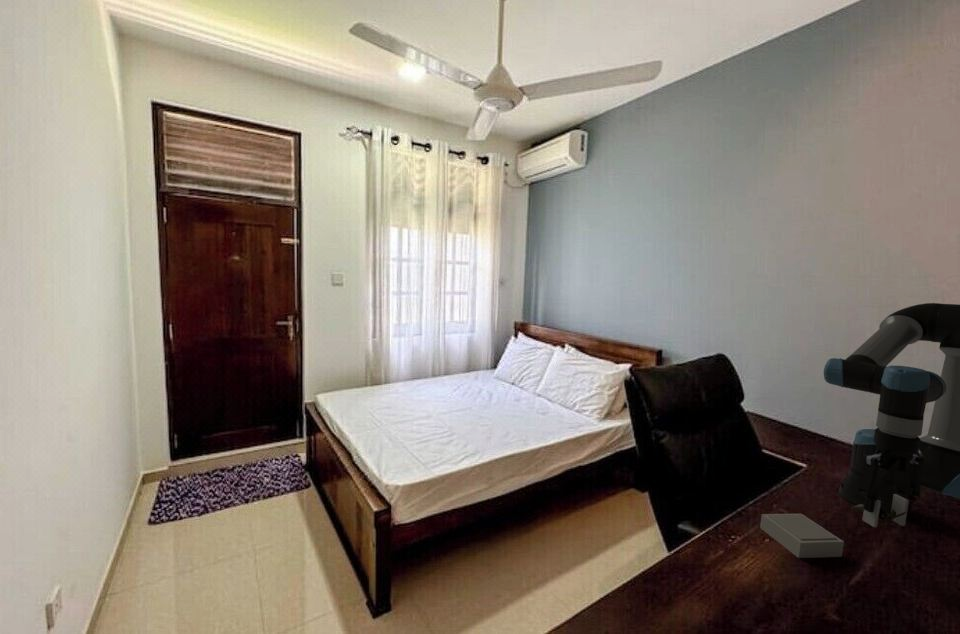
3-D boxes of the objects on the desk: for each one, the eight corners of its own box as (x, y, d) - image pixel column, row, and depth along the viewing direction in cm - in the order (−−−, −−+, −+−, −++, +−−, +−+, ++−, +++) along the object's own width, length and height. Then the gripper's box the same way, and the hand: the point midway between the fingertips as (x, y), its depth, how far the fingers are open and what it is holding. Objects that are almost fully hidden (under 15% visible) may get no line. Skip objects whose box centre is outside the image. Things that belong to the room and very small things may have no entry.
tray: (799, 527, 113) (801, 512, 113) (841, 556, 102) (844, 540, 101) (759, 527, 112) (761, 513, 112) (798, 558, 100) (800, 541, 100)
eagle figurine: (911, 524, 97) (877, 497, 106) (903, 503, 95) (869, 477, 104) (879, 537, 98) (847, 509, 107) (870, 516, 97) (839, 490, 105)
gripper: (915, 425, 101) (901, 512, 103) (844, 426, 98) (831, 515, 101) (953, 437, 93) (937, 531, 96) (877, 439, 91) (863, 534, 94)
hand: (883, 522), depth 99 cm, fingers closed on eagle figurine, 7 cm apart
